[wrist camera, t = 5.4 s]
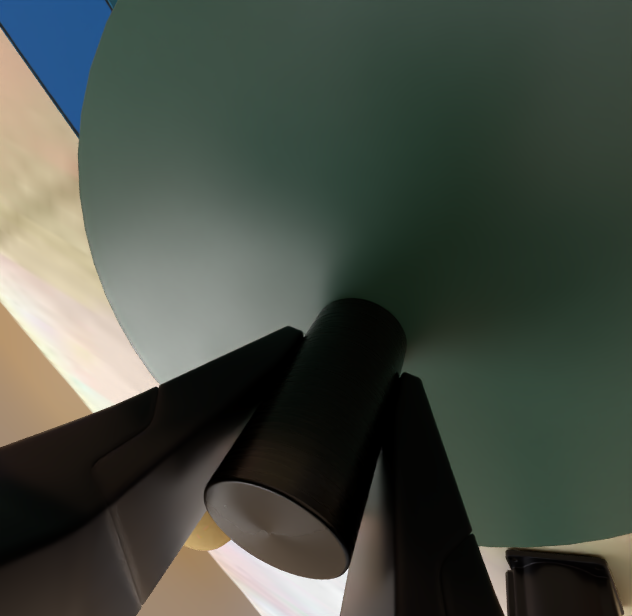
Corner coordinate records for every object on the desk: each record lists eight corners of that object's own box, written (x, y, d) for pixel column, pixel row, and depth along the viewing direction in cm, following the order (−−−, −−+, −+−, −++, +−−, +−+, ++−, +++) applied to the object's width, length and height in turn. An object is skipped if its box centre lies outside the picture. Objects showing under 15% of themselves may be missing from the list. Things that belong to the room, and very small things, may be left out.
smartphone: (-39, -242, 14) (186, 126, 19) (-12, -226, 15) (198, 124, 20) (-78, -81, 18) (115, 192, 23) (-56, -75, 19) (127, 188, 24)
